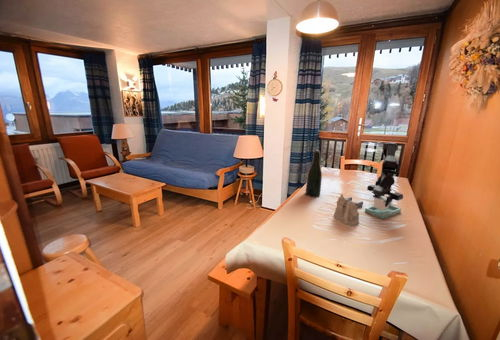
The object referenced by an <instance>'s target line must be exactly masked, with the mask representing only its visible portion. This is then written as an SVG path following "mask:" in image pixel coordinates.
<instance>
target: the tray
mask: <svg viewBox="0 0 500 340" xmlns="http://www.w3.org/2000/svg"><path fill="white" fill-rule="evenodd" d="M401 211H402V208H400V207H398V206H396V205H392V204H391V205H390V206H389V207H388V208H386V209H384V210H380V209H377V208H375V207H374V204H373V205H371V206H367V207H365V209H364V212H365V213H367V214H369V215H372V216H373V217H376V218H377V219H380V220H385V219H386V218H389V217H393V216H395V215H397V214H400V213H401Z"/></svg>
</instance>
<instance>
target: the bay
mask: <svg viewBox="0 0 500 340" xmlns="http://www.w3.org/2000/svg"><path fill="white" fill-rule="evenodd" d="M344 199H346V200H347V202H348V199H350V202H351V203H355V204H356V206H357V208H360V207H363V204H364V201H362V200H360V201H357V202H354V201H353V196H349V197H344Z"/></svg>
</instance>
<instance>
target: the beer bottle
mask: <svg viewBox="0 0 500 340" xmlns="http://www.w3.org/2000/svg"><path fill="white" fill-rule="evenodd" d="M320 157H321V152H320V150H318V149H316V150H314V152H313V158H312V161H311V164H310V166H309V169H308V171H307V176H306V184H305V194H306V195H307V196H309V197H312V198H313V197H315V198H316V197H320V195H321V191H322V182H323V181H322V180H323V179H322V177H323V172H322V169H321V164H320Z"/></svg>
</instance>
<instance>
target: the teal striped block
mask: <svg viewBox="0 0 500 340" xmlns="http://www.w3.org/2000/svg"><path fill="white" fill-rule="evenodd" d="M386 197H389V195H385V197H384V196H380V197H377V198H375V197H374V202H373V205H374V207H375V208H377V209H380V210H384V209H386V208H388V207H389V206H390V205H392V202H393V200H392V201H391V202H390V203H389V205H388V206H387V207H385V205H386V201H387V198H386Z"/></svg>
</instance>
